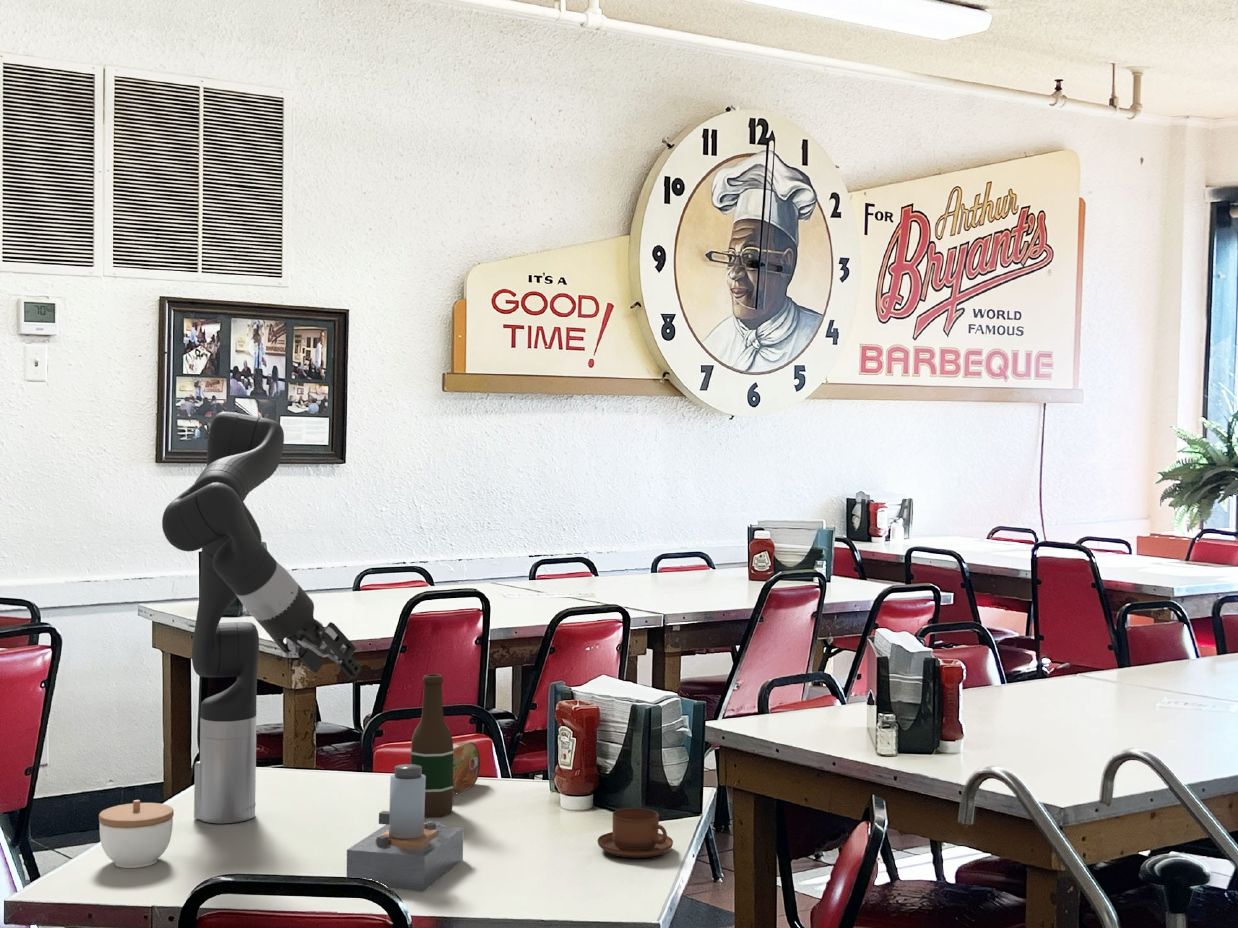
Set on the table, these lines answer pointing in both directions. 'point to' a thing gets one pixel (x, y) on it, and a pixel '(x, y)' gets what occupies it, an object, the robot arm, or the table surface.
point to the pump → (406, 803)
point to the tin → (465, 766)
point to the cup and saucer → (635, 834)
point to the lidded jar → (136, 833)
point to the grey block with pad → (407, 857)
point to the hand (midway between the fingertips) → (337, 670)
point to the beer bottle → (434, 750)
